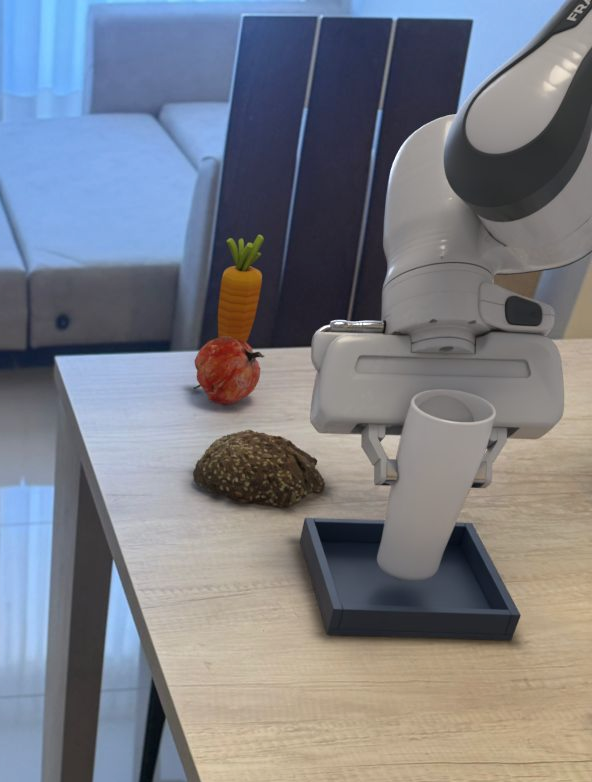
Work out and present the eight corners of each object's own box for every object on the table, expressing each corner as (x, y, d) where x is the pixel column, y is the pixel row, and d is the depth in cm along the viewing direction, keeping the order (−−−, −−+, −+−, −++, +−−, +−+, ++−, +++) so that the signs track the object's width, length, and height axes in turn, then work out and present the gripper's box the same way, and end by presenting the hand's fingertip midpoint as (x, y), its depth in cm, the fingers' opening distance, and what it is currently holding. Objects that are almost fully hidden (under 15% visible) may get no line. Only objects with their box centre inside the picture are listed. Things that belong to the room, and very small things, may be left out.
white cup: (422, 597, 99) (474, 431, 89) (352, 568, 102) (395, 405, 92) (458, 567, 103) (512, 405, 93) (389, 540, 106) (434, 381, 96)
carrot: (201, 367, 141) (219, 236, 130) (219, 354, 144) (238, 225, 133) (238, 377, 139) (259, 244, 128) (256, 364, 142) (277, 233, 131)
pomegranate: (180, 422, 134) (242, 392, 126) (163, 359, 133) (225, 325, 125) (224, 412, 138) (287, 383, 130) (208, 351, 137) (270, 318, 129)
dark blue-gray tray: (464, 547, 110) (472, 522, 108) (511, 640, 98) (521, 615, 96) (299, 541, 110) (304, 517, 108) (327, 634, 98) (333, 609, 97)
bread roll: (175, 485, 118) (181, 439, 115) (233, 442, 125) (240, 398, 122) (289, 523, 112) (298, 476, 109) (343, 477, 120) (353, 431, 116)
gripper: (321, 302, 94) (317, 469, 94) (575, 308, 94) (572, 476, 93) (302, 336, 100) (298, 493, 100) (540, 342, 100) (537, 499, 99)
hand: (432, 485), depth 96 cm, fingers closed on white cup, 6 cm apart
